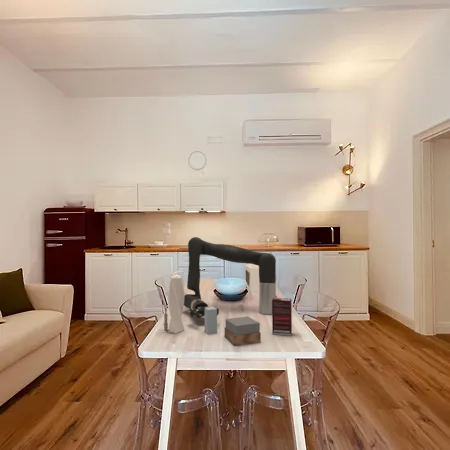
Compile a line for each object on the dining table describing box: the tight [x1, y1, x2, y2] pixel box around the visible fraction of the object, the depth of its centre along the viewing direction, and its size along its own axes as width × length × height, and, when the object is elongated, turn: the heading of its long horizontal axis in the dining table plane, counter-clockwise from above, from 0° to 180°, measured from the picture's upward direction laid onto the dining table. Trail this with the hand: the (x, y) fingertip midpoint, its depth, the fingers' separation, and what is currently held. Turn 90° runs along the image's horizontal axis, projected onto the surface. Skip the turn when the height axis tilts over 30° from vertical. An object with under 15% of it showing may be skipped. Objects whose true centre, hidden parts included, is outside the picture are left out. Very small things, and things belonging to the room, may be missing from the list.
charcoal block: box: [225, 315, 261, 336], centre depth 146 cm, size 11×11×4 cm
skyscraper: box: [163, 270, 185, 335], centre depth 158 cm, size 8×8×28 cm
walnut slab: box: [224, 326, 261, 347], centre depth 147 cm, size 12×12×4 cm
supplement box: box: [271, 297, 293, 337], centre depth 154 cm, size 9×5×16 cm, turn 74°
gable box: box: [244, 263, 259, 293], centre depth 258 cm, size 22×13×28 cm, turn 8°
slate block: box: [204, 306, 218, 335], centre depth 157 cm, size 5×5×11 cm
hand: (207, 315), depth 161 cm, fingers open, 8 cm apart
